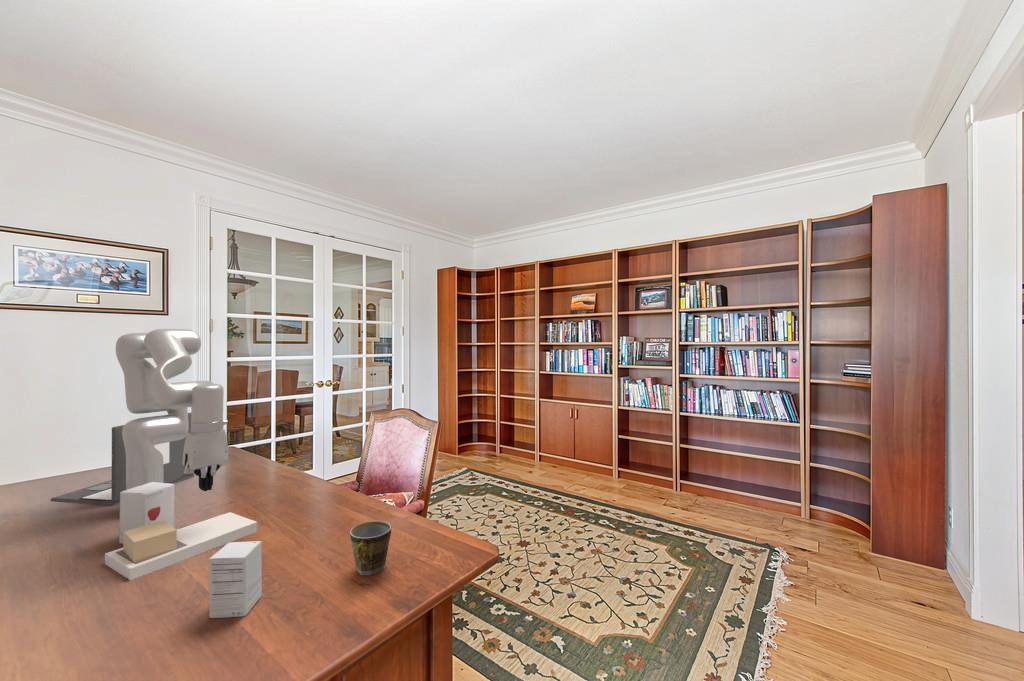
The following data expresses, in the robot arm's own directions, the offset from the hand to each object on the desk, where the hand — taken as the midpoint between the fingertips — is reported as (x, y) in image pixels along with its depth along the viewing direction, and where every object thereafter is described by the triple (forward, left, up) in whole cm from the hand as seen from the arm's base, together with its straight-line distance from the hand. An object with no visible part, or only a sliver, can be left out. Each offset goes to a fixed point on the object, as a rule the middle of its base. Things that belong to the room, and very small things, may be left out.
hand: (205, 489), depth 123 cm
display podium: (+1, -5, -15) cm, 15 cm away
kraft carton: (+1, -13, -11) cm, 18 cm away
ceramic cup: (+55, +11, -15) cm, 58 cm away
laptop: (-72, +7, -15) cm, 74 cm away
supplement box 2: (+41, -13, -15) cm, 45 cm away
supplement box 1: (-15, -8, -15) cm, 23 cm away
